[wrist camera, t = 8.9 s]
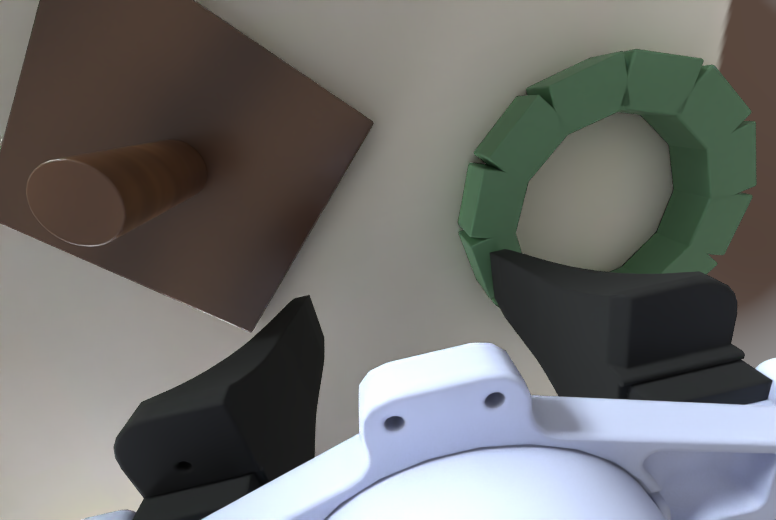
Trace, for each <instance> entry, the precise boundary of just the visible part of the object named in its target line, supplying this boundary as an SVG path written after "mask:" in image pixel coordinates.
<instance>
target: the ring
mask: <svg viewBox="0 0 776 520" xmlns="http://www.w3.org/2000/svg"><path fill="white" fill-rule="evenodd" d="M703 61H704V60H703V59H701V58H695V57H688V56H681V55H675V54H668V53H661V52H654V51H647V50H640V49H634V50H629V51H624V52H623V51H620V52H615V53H611V54H606V55H601V56H596V57H592V58H589V59H587V60H584V61H582V62H580V63H578V64H576V65H574V66H572V67H570V68H568V69H565V70H563V71H561V72H559V73H557V74H555V75H553V76H551V77H549V78H547V79H544V80H542V81H540V82H538V83H536V84H534V85H532V86H530V87H528V88H526V91H527V96H517V97H516V98H515V99H514V101H513V102H512V103H511V104H510V106H509V107H508V108H507V110H506V111H505V112H504V114H503V115H502V116H501V117H500V119H499V120H498V121H497V123H496V124H495V125H494V127H493V128H492V129H491V130H490V132H489V133H488V134H487V136H486V137H485V138H484V140H483V141H482V142H481V144H480V145H479V146H478V147H477V149H476V150H475V151H474V154H475V155H476V156H477V157H478V158H480V159H481V160H482V161H483V162H485V163H486V164H480V163H469V165H468V171H467V176H466V181H465V187H464V192H463V198H462V203H461V209H460V214H459V219H458V224H459V225H460V226H461V227H462V229H463V230H462V231H460V232H459V236H460V238H461V241H462V244H463V246H464V249H465V251H466V254H467V257H468V259H469V262H470V264H471V267H472V269H473V272H474V275H475V277H476V280H477V281H478V283H479V284H480V285H481V287H482V288H483V290H484V291H485V292H486V294H487V295H488V297H489V298H491V300H492V301H493V303H494V304H495V305H496V306H497V307H499V305H498V303H497V302H496V300H495V298H494V289H493V280H492V271H491V262H490V252H494V251H499V250H503V249H508V250H512V251H516V252H519V253H522V252H521V249H520V245H519V242H518V239H517V236H516V229H517V225H518V221H519V218H520V214H521V210H522V206H523V202H524V198H525V194H526V190H527V186H528V182H529V181H530V179H531V178H532V177H533V176H534V175H535V173H536V172H537V171H538V170H539V169H540V167H541V166H542V165H543V164H544V163H545V161H546V160H547V159H548V158H549V157H550V155H551V154H552V153H553V152H554V151H555V149H556V148H557V147H558V146H559V145H560V143H561V142H562V141H563V140H564V139H565V138H566V136H567V135H568V134H570V133H573V132H575V131H577V130H579V129H581V128H584V127H586V126H588V125H590V124H592V123H595V122H597V121H599V120H601V119H603V118H605V117H608V116H610V115H612V114H614V113H616V112H621V113H630V114H638V115H641V116H642V117H643V118H644V119H645V120H646V121H647V122H648V123H649V124H650V125H651V126H652V127H653V128H654V130H655V131H656V132H657V133H658V134H659V135H660V136H661V137H662V138H663V139H664V140H665V141H666V142H667V143H668V144H669V150H670V160H671V169H672V178H673V187H674V191H673V193H672V196H671V198H670V200H669V203H668V205H667V208H666V210H665V213H664V215H663V218H662V220H661V223H660V225H659V227H658V230H657V232H656V233H655V234H654V235H653V236H652V237H651V238H650V239H649V240H648V241H647V242H646V243H645V244H644V245H643V246H642V247H641V248H640V249H639V250H638V251H637V252H636V253H635V254H634V255H633V256H632V257H631V258H630V259H629V260H628V261H627V262H626V263H625V264H624V265H623V266H622V267H620V268H618V269H616V270H613V271H611V272H614V273H632V274H664V273H680V272H696V271H700V272H702V273H704V274H707V273H709V271H711V270H712V269H713V268H714V267H715V266H716V265H717V262H716V261H714V260H713V259H712V258H711V257H710V256H709V255H708V254H712V255H724V254H725V252H726V250H727V248H728V246H729V244H730V242H731V240H732V238H733V236H734V234H735V232H736V230H737V228H738V226H739V224H740V221H741V220H742V218H743V216H744V213H745V212H746V209H747V207H748V205H749V203H750V201H751V199H752V195H750V194H746V193H741V192H742V191H744V190H747V189H749V188H751V187H754V186H756V123H755V121H744V120H745V119H746V118H747V117H748V116H749V115H750V114H751V110H750V109H749V108H748V106H747V105H746V104H745V103H744V101H743V100H742V99H741V98H740V96H739V95H738V94H737V93H736V92H735V90H734V89H733V88H732V87H731V85H730V84H729V83H728V82H727V80H726V79H725V78H724V77H723V76H722V74H721V73H720V72H719V70H718V69H717V68H716V67H715V66H714V65H705V66H702V64H703ZM499 308H500V307H499Z"/></svg>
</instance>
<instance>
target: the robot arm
mask: <svg viewBox="0 0 776 520" xmlns="http://www.w3.org/2000/svg"><path fill="white" fill-rule="evenodd" d="M490 262H491V271H492V280H493V289H494V298H495V300H496V302H497V303H498V305H499V307H500V309H501V311H502V313H503V315H504V316H505V318H506V319H507V321H508V322H509V323H510V325H511V326H512V327H513V329H514V330H515V331H516V333H517V334H518V335H519V337H520V338H521V339H522V341H523V342H524V343H525V344H526V346H527V347H528V348H529V350H530V351H531V352H532V354H533V355H534V356H535V358H536V359H537V361H538V362H539V364H540V365H541V367H542V368H543V370H544V372H545V373H546V375H547V377H548V379H549V380H550V382H551V384H552V385H553V387H554V389H555V391H556V392H557V394H558V396H537V395H531V394H530V392H529V390H528V387H527V385H526V383H525V381H524V379H523V378H522V376H521V374H520V373H519V371H518V369H517V368H516V366H515V365H514V363H513V361H512V360H511V358H510V357H509V355H508V353H507V352H506V351H505V350H503V349H502V348H500V347H498V346H496V345H494V344H492V343H469V344H464V345H460V346H456V347H451V348H447V349H443V350H439V351H434V352H430V353H426V354H422V355H417V356H413V357H409V358H404V359H400V360H396V361H392V362H387V363H385V364H383V365H381V366H379V367H377V368H375V369H373V370H370V371H369V372H368V374H367V375H366V376H365V378H364V379H363V380H362V382H361V383H360V384H359V434H357V435H355V436H353V437H351V438H349V439H348V440H346V441H344V442H342V443H340V444H338V445H337V446H335V447H333V448H331V449H329V450H327V451H326V452H324V453H322V454H320V455H318V456H316V457H315V426H316V412H317V404H318V397H319V391H320V385H321V378H322V372H323V365H324V335H323V332H322V330H321V327H320V324H319V321H318V318H317V315H316V312H315V310H314V307H313V304H312V301H311V298H310V295H307V296H303V297H299V298H295V299H293V300H292V301H291V302H289V303H288V304H287V305H286V306H285V307H284V308H283V309H282V310H281V311H280V312H279V313H278V314H277V315H276V316H275V317H274V318H273V319H272V320H271V321H270V322H269V323H268V324H267V325H266V326H265V327H264V328H263V329H262V330H261V331H260V332H259V333H258V334H256V335H255V336H254V337H253V338H252V339H251V340H250V341H248V342H247V343H246V344H245V345H244V346H242V347H241V348H240V349H238V350H237V351H236V352H234V353H233V354H232V355H230V356H229V357H227V358H226V359H224V360H223V361H221V362H219V363H218V364H216V365H215V366H213V367H212V368H210V369H209V370H207V371H205V372H203V373H202V374H200V375H198V376H196V377H194V378H193V379H191V380H189V381H187V382H185V383H183V384H181V385H179V386H177V387H175V388H173V389H170V390H168V391H166V392H164V393H161V394H159V395H157V396H154V397H152V398H150V399H148V400H145V401H143V402H141V403H140V405H139V406H138V408H137V409H136V410H135V412H134V413H133V415H132V416H131V417H130V419H129V420H128V422H127V423H126V424H125V426H124V427H123V429H122V430H121V431H120V433H119V434H118V436H117V437H116V440H115V444H114V454H115V458H116V460H117V462H118V464H119V465H120V467H121V469H122V470H123V472H124V473H125V474H126V475H127V477H128V478H129V479H130V481H131V482H132V483H133V485H134V486H135V487H136V489H137V490H138V491H139V492H140V494H141V495H142V496H143V498H144V499H143V501H142V503H141V505H140V507H139V509H138V510H137V512H134V511H131V510H118V511H114V512H110V513H106V514H101V515H97V516H93V517H88V518H85V519H82V520H776V358H773V359H769V360H766V361H764V362H762V363H761V364H760V365H758V366H757V367H756V369H755V368H753V367H752V366H750V365H749V364H747V363H745V362H744V361H742V360H741V359H744V356H745V354H744V352H743V351H742V350H740V349H739V348H737V347H736V346H734V345H732V344H731V341H732V336H733V331H734V326H735V321H736V317H737V300H736V296H735V293H734V292H733V291H732V290H731V288H730V287H729V286H728V285H726V284H724V283H722V282H720V281H718V280H716V279H714V278H712V277H710V276H708V275H706V274H704V273H702V272H700V271H696V272H680V273H664V274H632V273H614V272H602V271H594V270H588V269H581V268H575V267H570V266H566V265H562V264H557V263H553V262H550V261H546V260H542V259H539V258H536V257H532V256H529V255H526V254H523V253H519V252H516V251H512V250H508V249H503V250H499V251H494V252H490Z"/></svg>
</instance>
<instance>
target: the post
mask: <svg viewBox="0 0 776 520" xmlns="http://www.w3.org/2000/svg"><path fill="white" fill-rule="evenodd" d="M373 124H374V122H373V121H372V120H370V119H369V118H367V117H366V116H364V115H363V114H361V113H360V112H358V111H357V110H355V109H354V108H352V107H351V106H349V105H348V104H347V103H345V102H344V101H342V100H341V99H339V98H338V97H336V96H335V95H333V94H332V93H330V92H329V91H327V90H326V89H324V88H323V87H321V86H320V85H318V84H317V83H316V82H314V81H313V80H311V79H310V78H308V77H307V76H305V75H304V74H302V73H301V72H299V71H298V70H296V69H295V68H293V67H292V66H290V65H289V64H287V63H286V62H284V61H283V60H282V59H280V58H279V57H277V56H276V55H274V54H273V53H271V52H270V51H268V50H267V49H265V48H264V47H262V46H261V45H259V44H258V43H256V42H255V41H253V40H252V39H250V38H249V37H248V36H246V35H245V34H243V33H242V32H240V31H239V30H237V29H236V28H234V27H233V26H231V25H230V24H228V23H227V22H225V21H224V20H222V19H221V18H219V17H218V16H216V15H215V14H214V13H212V12H211V11H209V10H208V9H206V8H205V7H203V6H202V5H200V4H199V3H197V2H196V1H194V0H40V1H39V5H38V9H37V13H36V17H35V20H34V24H33V28H32V32H31V36H30V39H29V43H28V47H27V51H26V55H25V58H24V62H23V66H22V70H21V74H20V77H19V81H18V85H17V89H16V93H15V97H14V100H13V104H12V108H11V112H10V116H9V119H8V123H7V127H6V131H5V135H4V138H3V142H2V146H1V150H0V223H1V224H3V225H6V226H8V227H10V228H12V229H15V230H17V231H19V232H22V233H24V234H26V235H28V236H31V237H33V238H35V239H38V240H40V241H42V242H44V243H47V244H49V245H51V246H54V247H56V248H58V249H60V250H63V251H65V252H67V253H70V254H72V255H74V256H76V257H79V258H81V259H83V260H85V261H88V262H90V263H92V264H95V265H97V266H99V267H101V268H104V269H106V270H108V271H111V272H113V273H115V274H117V275H120V276H122V277H124V278H127V279H129V280H131V281H133V282H136V283H138V284H140V285H143V286H145V287H147V288H149V289H152V290H154V291H156V292H159V293H161V294H163V295H165V296H168V297H170V298H172V299H175V300H177V301H179V302H181V303H184V304H186V305H188V306H191V307H193V308H195V309H197V310H200V311H202V312H204V313H207V314H209V315H211V316H213V317H216V318H218V319H220V320H223V321H225V322H227V323H229V324H232V325H234V326H236V327H239V328H241V329H243V330H245V331H248V332H250V333H251V332H252V331H253V330H254V328H255V326H256V324H257V323H258V321H259V319H260V318H261V316H262V314H263V312H264V311H265V309H266V307H267V306H268V304H269V302H270V300H271V299H272V297H273V295H274V294H275V292H276V290H277V288H278V287H279V285H280V283H281V282H282V280H283V278H284V277H285V275H286V273H287V271H288V270H289V268H290V266H291V265H292V263H293V261H294V259H295V258H296V256H297V254H298V253H299V251H300V249H301V247H302V246H303V244H304V242H305V241H306V239H307V237H308V235H309V234H310V232H311V230H312V229H313V227H314V225H315V223H316V222H317V220H318V218H319V217H320V215H321V213H322V211H323V210H324V208H325V206H326V205H327V203H328V201H329V200H330V198H331V196H332V194H333V193H334V191H335V189H336V188H337V186H338V184H339V182H340V181H341V179H342V177H343V176H344V174H345V172H346V170H347V169H348V167H349V165H350V164H351V162H352V160H353V158H354V157H355V155H356V153H357V152H358V150H359V148H360V146H361V145H362V143H363V141H364V140H365V138H366V136H367V134H368V133H369V131H370V129H371V128H372V126H373Z"/></svg>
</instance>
